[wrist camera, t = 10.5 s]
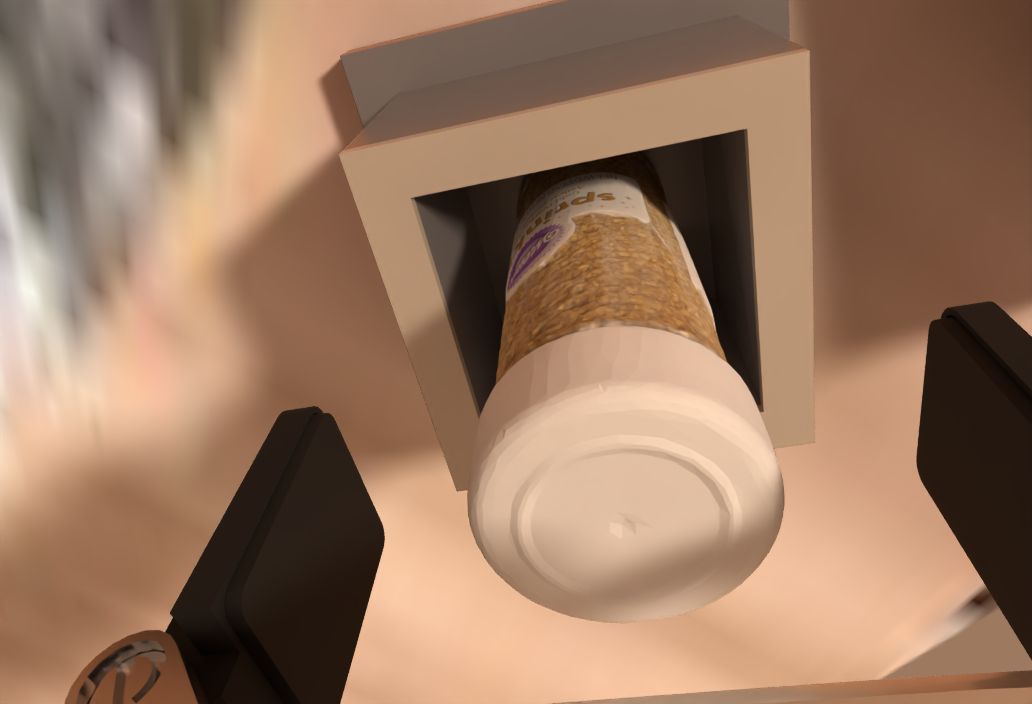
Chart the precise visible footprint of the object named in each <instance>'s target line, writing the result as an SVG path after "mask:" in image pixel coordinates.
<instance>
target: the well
mask: <svg viewBox="0 0 1032 704" xmlns="http://www.w3.org/2000/svg"><path fill="white" fill-rule="evenodd" d="M340 58H341V61H342V64H343V67H344V70H345V73H346V76H347V79H348V82H349V85H350V88H351V91H352V94H353V97H354V100H355V103H356V107H357V110H358V113H359V116H360V119H361V122H362V125H363V128H364V129H363V130H362V131H361V132H360V133H359V134H358V135H357V136H356V137H355V138H354V139H353V140H352V141H351V142H350V143H349V144H348V145H347V146H346V147H345V148H344V149H343V150H342V151H341V152H340V153H339V157H340V160H341V163H342V166H343V169H344V172H345V174H346V177H347V180H348V183H349V186H350V189H351V191H352V194H353V197H354V200H355V203H356V206H357V209H358V211H359V214H360V217H361V220H362V223H363V226H364V228H365V231H366V234H367V237H368V240H369V243H370V246H371V248H372V251H373V254H374V257H375V260H376V263H377V265H378V268H379V271H380V274H381V277H382V280H383V283H384V285H385V288H386V291H387V294H388V297H389V300H390V303H391V305H392V308H393V311H394V314H395V317H396V320H397V322H398V325H399V328H400V331H401V334H402V337H403V340H404V342H405V345H406V348H407V351H408V354H409V357H410V359H411V362H412V365H413V368H414V371H415V374H416V377H417V379H418V382H419V385H420V388H421V391H422V394H423V396H424V399H425V402H426V405H427V408H428V411H429V414H430V416H431V419H432V422H433V425H434V428H435V431H436V434H437V436H438V439H439V442H440V445H441V448H442V451H443V453H444V456H445V459H446V462H447V465H448V468H449V471H450V473H451V476H452V479H453V482H454V485H455V488H456V490H457V491H464V490H468V485H469V477H470V469H471V462H472V456H473V451H474V445H475V439H476V433H477V427H478V423H479V419H480V415H481V413H482V410H483V408H484V406H485V404H486V401H487V399H488V398H489V396H490V394H491V392H492V390H493V388H494V387H495V384H496V373H497V370H498V361H499V351H500V348H501V337H502V329H503V324H504V316H505V312H506V285H507V279H508V273H509V265H510V258H511V252H512V245H513V241H514V236H515V233H516V230H517V206H518V200H519V196H520V192H521V189H522V186H523V184H524V182H525V180H526V178H527V176H528V174H529V173H534V172H539V171H544V170H548V169H553V168H558V167H563V166H568V165H573V164H577V163H582V162H587V161H592V160H597V159H602V158H607V157H611V156H616V155H621V154H626V153H631V152H636V151H637V152H639V153H640V154H641V155H642V156H643V157H644V158H645V159H646V160H647V161H648V162H649V163H650V165H651V166H652V167H653V169H654V170H655V171H656V172H657V174H658V175H659V178H660V182H661V184H662V187H663V190H664V192H665V195H666V201H667V205H668V207H669V208H670V210H671V212H672V214H673V216H674V218H675V220H676V222H677V225H678V227H679V230H680V232H681V234H682V236H683V239H684V241H685V244H686V246H687V249H688V251H689V254H690V256H691V259H692V261H693V264H694V266H695V269H696V271H697V274H698V276H699V279H700V281H701V284H702V286H703V289H704V291H705V294H706V296H707V299H708V301H709V304H710V307H711V310H712V313H713V317H714V323H715V328H716V333H717V336H718V339H719V343H720V345H721V348H722V349H723V351H724V354H725V357H726V361H727V363H728V364H729V365H730V366H731V367H732V368H733V369H734V370H735V371H736V372H737V373H738V374H739V375H740V377H741V378H742V380H743V381H744V383H745V384H746V386H747V387H748V389H749V391H750V393H751V394H752V396H753V398H754V400H755V403H756V405H757V407H758V410H759V412H760V415H761V417H762V420H763V422H764V425H765V427H766V430H767V433H768V435H769V438H770V440H771V443H772V446H773V449H775V448H782V447H790V446H797V445H804V444H812V443H815V406H814V331H813V257H812V183H811V108H810V50H808V49H806V48H804V47H802V46H800V45H798V44H796V43H793V42H791V41H789V7H788V0H553V1H549V2H545V3H541V4H537V5H533V6H529V7H525V8H521V9H517V10H513V11H509V12H504V13H500V14H496V15H492V16H488V17H484V18H480V19H476V20H472V21H468V22H464V23H460V24H455V25H451V26H447V27H443V28H439V29H435V30H431V31H427V32H423V33H419V34H415V35H411V36H407V37H402V38H398V39H394V40H390V41H386V42H382V43H378V44H374V45H370V46H366V47H362V48H358V49H353V50H349V51H348V52H346V53H344V54H342V55H341V56H340Z"/></svg>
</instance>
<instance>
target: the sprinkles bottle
mask: <svg viewBox="0 0 1032 704" xmlns="http://www.w3.org/2000/svg"><path fill="white" fill-rule="evenodd" d="M467 499H468V517H469V522H470V526H471V529H472V533H473V535H474V538H475V540H476V543H477V545H478V547H479V549H480V550H481V552H482V554H483V556H484V558H485V559H486V561H487V562H488V563H489V565H490V566H491V567H492V568H493V570H494V571H495V572H496V573H497V574H498V575H499V576H500V577H501V578H502V579H503V580H504V581H505V582H506V583H508V584H509V585H510V586H511V587H512V588H514V589H515V590H516V591H517V592H519V593H520V594H522V595H523V596H525V597H526V598H528V599H530V600H531V601H533V602H535V603H537V604H539V605H542V606H544V607H546V608H549V609H551V610H554V611H556V612H559V613H562V614H565V615H568V616H571V617H575V618H581V619H586V620H591V621H598V622H610V623H636V622H647V621H657V620H662V619H666V618H671V617H675V616H679V615H682V614H685V613H688V612H691V611H693V610H696V609H699V608H701V607H704V606H706V605H708V604H710V603H712V602H714V601H716V600H718V599H720V598H721V597H723V596H724V595H726V594H728V593H729V592H731V591H732V590H734V589H735V588H736V587H738V586H739V585H740V584H742V583H743V582H744V581H745V580H746V579H747V578H748V577H749V576H750V575H751V574H752V573H753V572H754V571H755V570H756V569H757V568H758V567H759V565H760V564H761V563H762V561H763V560H764V558H765V557H766V556H767V554H768V553H769V551H770V549H771V547H772V545H773V544H774V542H775V540H776V537H777V535H778V532H779V529H780V526H781V521H782V517H783V510H784V486H783V479H782V474H781V470H780V466H779V463H778V460H777V457H776V454H775V451H774V449H773V446H772V443H771V440H770V438H769V435H768V433H767V430H766V427H765V425H764V422H763V420H762V417H761V415H760V412H759V410H758V407H757V405H756V403H755V400H754V398H753V396H752V394H751V393H750V391H749V389H748V387H747V386H746V384H745V383H744V381H743V380H742V378H741V377H740V375H739V374H738V373H737V372H736V371H735V370H734V369H733V368H732V367H731V366H730V365H729V364H728V363H727V361H726V357H725V354H724V351H723V349H722V348H721V345H720V343H719V339H718V336H717V333H716V328H715V323H714V317H713V313H712V310H711V307H710V304H709V301H708V299H707V296H706V294H705V291H704V289H703V286H702V284H701V281H700V279H699V276H698V274H697V271H696V269H695V266H694V264H693V261H692V259H691V256H690V254H689V251H688V249H687V246H686V244H685V241H684V239H683V236H682V234H681V232H680V230H679V227H678V225H677V222H676V220H675V218H674V216H673V214H672V212H671V210H670V208H669V207H668V205H667V201H666V195H665V192H664V190H663V187H662V184H661V182H660V178H659V175H658V174H657V172H656V171H655V170H654V169H653V167H652V166H651V165H650V163H649V162H648V161H647V160H646V159H645V158H644V157H643V156H642V155H641V154H640V153H639V152H637V151H636V152H631V153H626V154H621V155H616V156H611V157H607V158H602V159H597V160H592V161H587V162H582V163H577V164H573V165H568V166H563V167H558V168H553V169H548V170H544V171H539V172H534V173H529V174H528V176H527V178H526V180H525V182H524V184H523V186H522V189H521V192H520V196H519V200H518V206H517V230H516V233H515V236H514V241H513V245H512V252H511V258H510V265H509V273H508V279H507V285H506V312H505V316H504V324H503V329H502V337H501V348H500V351H499V361H498V370H497V373H496V384H495V387H494V388H493V390H492V392H491V394H490V396H489V398H488V399H487V401H486V404H485V406H484V408H483V410H482V413H481V415H480V419H479V423H478V427H477V433H476V439H475V445H474V451H473V456H472V462H471V469H470V477H469V485H468V494H467Z"/></svg>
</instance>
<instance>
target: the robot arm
mask: <svg viewBox="0 0 1032 704" xmlns="http://www.w3.org/2000/svg"><path fill="white" fill-rule="evenodd" d="M917 469H918V473H919V476H920V478H921V481H922V483H923V485H924V486H925V488H926V489H927V491H928V493H929V494H930V496H931V498H932V499H933V501H934V502H935V504H936V506H937V507H938V509H939V511H940V512H941V514H942V515H943V517H944V519H945V520H946V522H947V524H948V525H949V527H950V528H951V530H952V532H953V533H954V535H955V536H956V538H957V540H958V541H959V543H960V545H961V546H962V548H963V549H964V551H965V553H966V554H967V556H968V558H969V559H970V561H971V562H972V564H973V566H974V567H975V569H976V571H977V572H978V574H979V575H980V577H981V579H982V580H983V582H984V584H985V585H986V587H987V588H988V590H989V592H990V593H991V595H992V597H993V598H994V600H995V601H996V603H997V605H998V606H999V608H1000V610H1001V611H1002V613H1003V614H1004V616H1005V618H1006V619H1007V621H1008V622H1009V624H1010V626H1011V627H1012V629H1013V630H1014V632H1015V634H1016V635H1017V637H1018V639H1019V640H1020V642H1021V644H1022V645H1023V647H1024V648H1025V650H1026V652H1027V653H1028V655H1029V657H1030V658H1031V660H1032V337H1031V336H1030V335H1029V334H1028V333H1027V332H1026V331H1025V330H1024V329H1023V328H1022V327H1021V326H1019V325H1018V324H1017V323H1016V322H1015V321H1014V320H1013V319H1012V318H1011V317H1010V316H1009V315H1008V314H1007V313H1005V312H1004V311H1003V310H1002V309H1001V308H1000V307H999V306H998V305H997V304H995V303H993V302H982V303H976V304H969V305H963V306H956V307H950V308H947V309H945V310H944V312H943V314H942V316H941V319H937V320H933V321H932V322H931V324H930V327H929V333H928V344H927V354H926V364H925V375H924V385H923V395H922V406H921V416H920V426H919V437H918V447H917ZM384 540H385V536H384V528H383V525H382V522H381V520H380V518H379V516H378V514H377V511H376V509H375V507H374V505H373V503H372V500H371V498H370V496H369V494H368V492H367V489H366V487H365V485H364V483H363V481H362V478H361V476H360V474H359V472H358V470H357V467H356V465H355V463H354V461H353V459H352V457H351V454H350V452H349V450H348V448H347V446H346V443H345V441H344V439H343V437H342V435H341V432H340V430H339V428H338V426H337V424H336V421H335V419H334V418H333V416H332V415H331V414H329V413H323V412H322V410H321V409H320V408H319V407H315V406H313V407H307V408H300V409H294V410H287V411H284V412H282V413H281V414H280V415H279V416H278V418H277V420H276V422H275V423H274V425H273V427H272V429H271V431H270V433H269V434H268V436H267V438H266V440H265V442H264V443H263V445H262V447H261V449H260V451H259V452H258V454H257V456H256V458H255V460H254V461H253V463H252V465H251V467H250V469H249V471H248V472H247V474H246V476H245V478H244V480H243V481H242V483H241V485H240V487H239V489H238V490H237V492H236V494H235V496H234V498H233V499H232V501H231V503H230V505H229V507H228V509H227V510H226V512H225V514H224V516H223V518H222V519H221V521H220V523H219V525H218V527H217V528H216V530H215V532H214V534H213V536H212V537H211V539H210V541H209V543H208V545H207V547H206V548H205V550H204V552H203V554H202V556H201V557H200V559H199V561H198V563H197V565H196V566H195V568H194V570H193V572H192V574H191V575H190V577H189V579H188V581H187V583H186V585H185V586H184V588H183V590H182V592H181V594H180V595H179V597H178V599H177V601H176V603H175V604H174V606H173V608H172V610H171V612H170V614H171V615H172V617H173V619H172V620H171V622H170V624H169V626H168V628H167V630H166V631H165V632H163V631H160V630H147V631H142V632H139V633H136V634H132V635H129V636H127V637H125V638H123V639H122V640H120V641H118V642H116V643H114V644H112V645H111V646H110V647H108V648H107V649H106V650H104V651H103V652H102V653H100V654H99V655H97V656H96V657H95V658H94V659H93V660H92V661H91V662H90V663H89V664H88V665H87V666H86V667H85V668H84V669H83V671H82V672H81V673H80V675H79V676H78V678H77V679H76V681H75V682H74V683H73V685H72V686H71V688H70V691H69V693H68V696H67V698H66V700H65V704H340V702H341V699H342V695H343V691H344V688H345V684H346V681H347V677H348V673H349V670H350V666H351V663H352V659H353V656H354V652H355V648H356V645H357V641H358V638H359V634H360V630H361V627H362V623H363V620H364V616H365V612H366V609H367V605H368V602H369V598H370V594H371V591H372V587H373V584H374V580H375V576H376V573H377V569H378V566H379V562H380V558H381V555H382V551H383V548H384ZM553 704H1032V670H1031V671H1013V672H996V673H976V674H957V675H941V676H926V677H912V678H897V679H883V680H869V681H854V682H840V683H826V684H811V685H797V686H783V687H768V688H754V689H740V690H726V691H713V692H699V693H686V694H672V695H659V696H645V697H632V698H619V699H606V700H592V701H579V702H566V703H553Z"/></svg>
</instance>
